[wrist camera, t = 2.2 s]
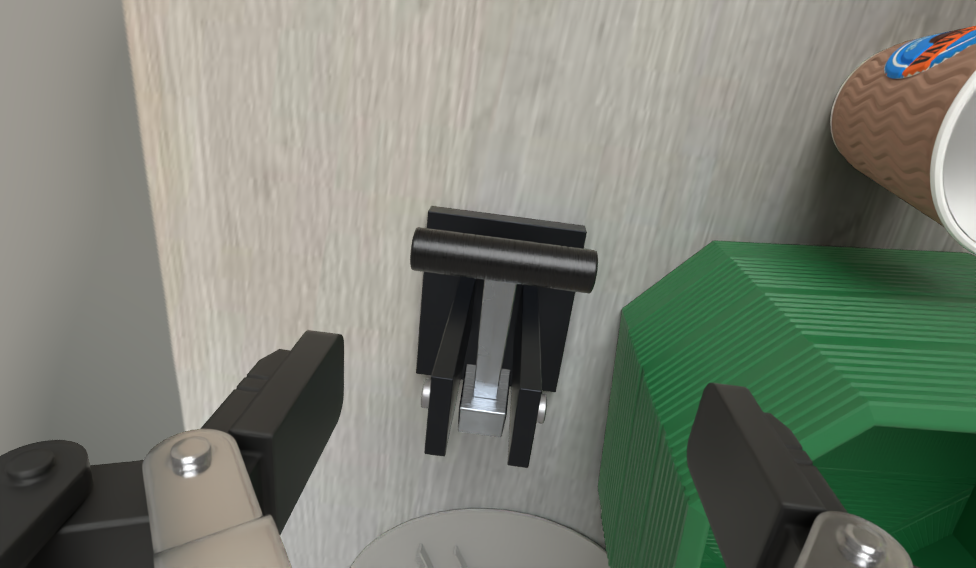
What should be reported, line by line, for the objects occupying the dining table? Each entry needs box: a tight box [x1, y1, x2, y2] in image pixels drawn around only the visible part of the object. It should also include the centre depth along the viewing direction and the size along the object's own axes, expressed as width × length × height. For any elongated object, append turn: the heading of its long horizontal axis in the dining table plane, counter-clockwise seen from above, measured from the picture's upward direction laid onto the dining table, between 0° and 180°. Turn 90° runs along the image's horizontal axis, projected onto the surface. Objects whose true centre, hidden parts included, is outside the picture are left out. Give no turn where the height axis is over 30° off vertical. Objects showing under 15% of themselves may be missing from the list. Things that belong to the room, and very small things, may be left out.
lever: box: [410, 227, 598, 437], centre depth 23 cm, size 13×6×2 cm, turn 174°
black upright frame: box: [416, 206, 587, 468], centre depth 32 cm, size 12×10×14 cm
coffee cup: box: [830, 26, 976, 255], centre depth 26 cm, size 10×10×12 cm
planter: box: [598, 241, 976, 568], centre depth 32 cm, size 26×26×18 cm
